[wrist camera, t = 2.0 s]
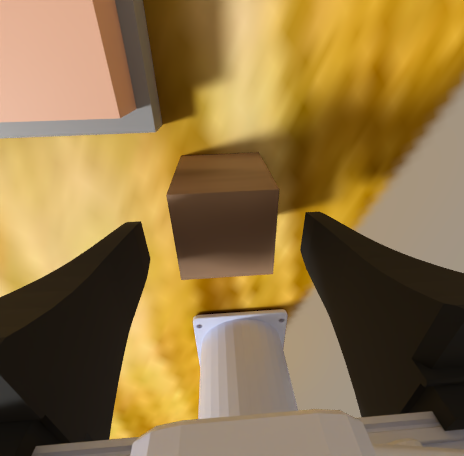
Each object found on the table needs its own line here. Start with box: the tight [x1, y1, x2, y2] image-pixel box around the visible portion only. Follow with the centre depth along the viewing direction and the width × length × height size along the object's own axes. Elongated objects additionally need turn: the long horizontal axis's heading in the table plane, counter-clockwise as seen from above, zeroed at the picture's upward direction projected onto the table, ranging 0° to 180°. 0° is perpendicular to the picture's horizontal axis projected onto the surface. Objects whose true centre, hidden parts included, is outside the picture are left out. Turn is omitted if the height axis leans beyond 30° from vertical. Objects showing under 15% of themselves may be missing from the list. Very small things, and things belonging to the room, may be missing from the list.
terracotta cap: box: [0, 0, 137, 122], centre depth 9 cm, size 6×6×2 cm
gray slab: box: [0, 0, 163, 138], centre depth 11 cm, size 8×8×2 cm
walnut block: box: [167, 152, 279, 280], centre depth 14 cm, size 4×4×6 cm
